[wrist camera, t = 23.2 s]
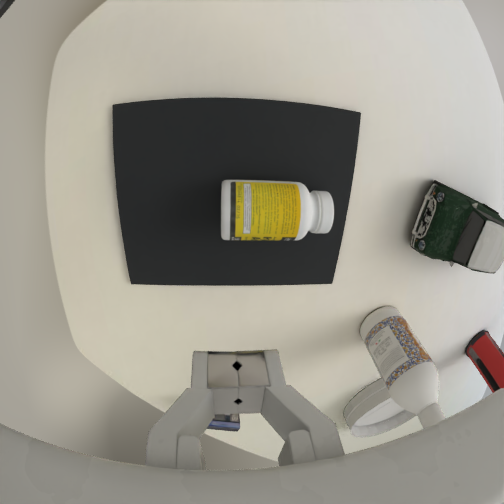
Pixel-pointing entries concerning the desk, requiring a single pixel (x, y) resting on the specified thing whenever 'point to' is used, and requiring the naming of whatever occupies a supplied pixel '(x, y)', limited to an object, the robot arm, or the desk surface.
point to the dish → (374, 411)
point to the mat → (210, 185)
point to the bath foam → (403, 364)
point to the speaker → (487, 359)
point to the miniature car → (459, 230)
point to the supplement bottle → (273, 210)
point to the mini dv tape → (225, 422)
